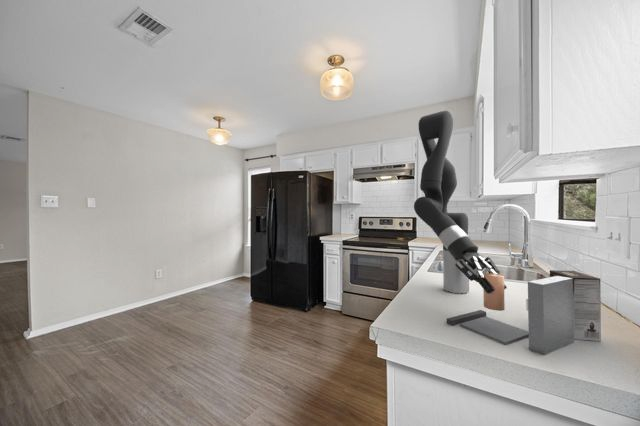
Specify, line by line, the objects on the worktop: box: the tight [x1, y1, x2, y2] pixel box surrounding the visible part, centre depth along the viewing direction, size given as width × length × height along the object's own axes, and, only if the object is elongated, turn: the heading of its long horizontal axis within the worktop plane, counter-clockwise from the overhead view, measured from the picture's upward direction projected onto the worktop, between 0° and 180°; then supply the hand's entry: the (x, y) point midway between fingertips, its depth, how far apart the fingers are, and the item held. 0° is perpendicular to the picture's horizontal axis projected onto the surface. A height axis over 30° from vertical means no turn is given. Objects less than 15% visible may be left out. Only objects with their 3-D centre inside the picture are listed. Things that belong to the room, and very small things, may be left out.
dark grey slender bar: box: [446, 309, 487, 327], centre depth 77 cm, size 16×2×2 cm, turn 115°
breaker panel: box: [525, 276, 575, 356], centre depth 62 cm, size 14×4×16 cm, turn 115°
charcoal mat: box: [459, 316, 529, 346], centre depth 70 cm, size 12×12×1 cm
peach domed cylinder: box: [482, 272, 506, 312], centre depth 70 cm, size 5×5×9 cm
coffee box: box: [549, 269, 602, 342], centre depth 68 cm, size 9×6×16 cm
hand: (497, 290), depth 69 cm, fingers closed on peach domed cylinder, 4 cm apart
